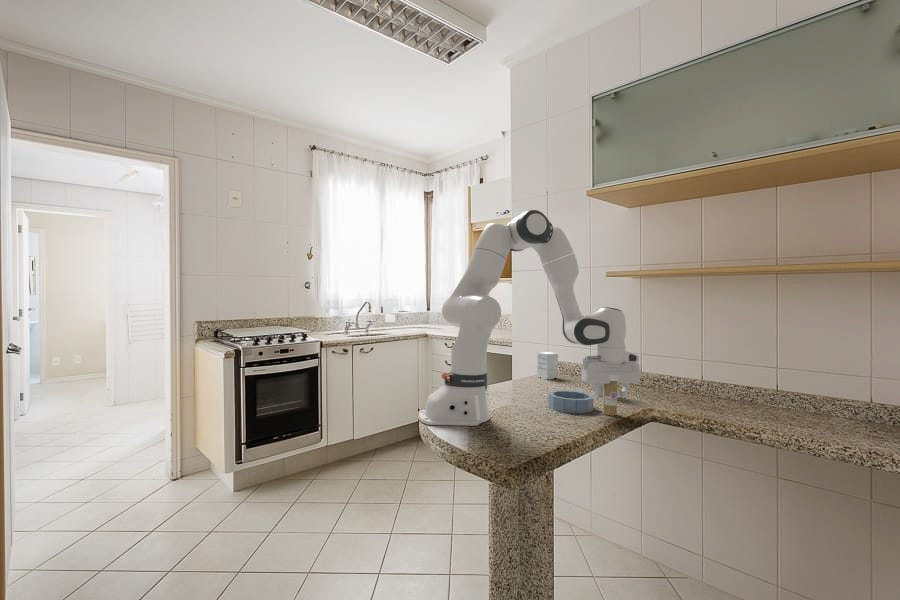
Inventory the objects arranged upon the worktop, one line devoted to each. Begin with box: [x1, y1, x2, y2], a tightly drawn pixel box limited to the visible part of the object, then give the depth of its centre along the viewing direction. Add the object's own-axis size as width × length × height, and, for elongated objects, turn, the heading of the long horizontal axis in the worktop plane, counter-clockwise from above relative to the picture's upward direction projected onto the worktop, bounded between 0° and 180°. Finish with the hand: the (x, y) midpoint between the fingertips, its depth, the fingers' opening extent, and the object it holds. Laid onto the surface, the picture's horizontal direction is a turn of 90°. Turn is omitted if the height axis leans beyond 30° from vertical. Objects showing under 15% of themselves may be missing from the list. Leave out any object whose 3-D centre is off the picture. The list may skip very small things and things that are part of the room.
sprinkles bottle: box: [602, 375, 618, 417], centre depth 141 cm, size 5×5×13 cm
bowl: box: [548, 389, 594, 414], centre depth 149 cm, size 15×15×4 cm
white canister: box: [536, 351, 559, 380], centre depth 208 cm, size 7×7×13 cm
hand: (610, 396), depth 141 cm, fingers open, 8 cm apart
